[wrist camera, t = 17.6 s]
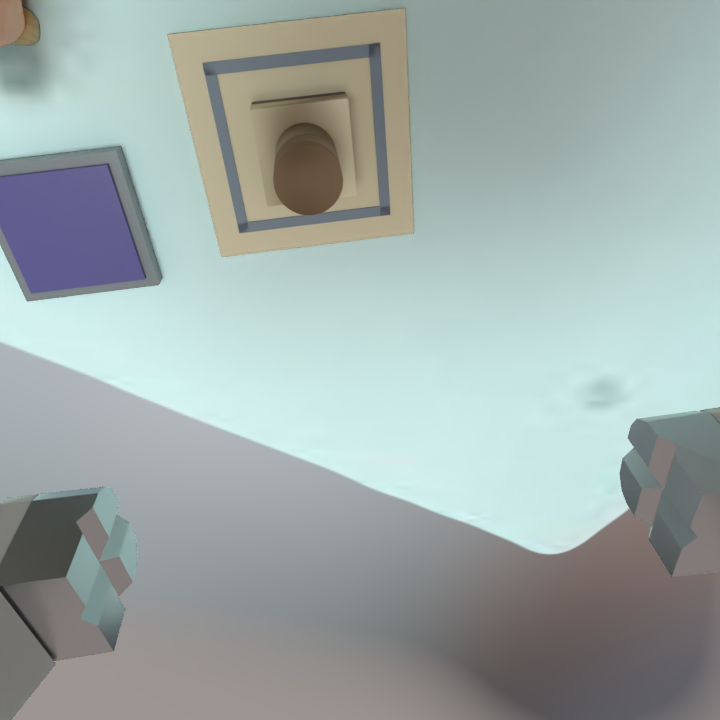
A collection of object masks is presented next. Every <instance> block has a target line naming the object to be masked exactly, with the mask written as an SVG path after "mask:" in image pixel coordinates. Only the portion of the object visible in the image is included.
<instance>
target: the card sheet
mask: <svg viewBox="0 0 720 720" xmlns="http://www.w3.org/2000/svg"><path fill="white" fill-rule="evenodd" d="M168 39H169V43H170V47H171V51H172V55H173V60H174V64H175V68H176V72H177V76H178V80H179V84H180V88H181V92H182V97H183V101H184V105H185V109H186V113H187V117H188V121H189V125H190V130H191V134H192V138H193V142H194V146H195V150H196V154H197V158H198V162H199V167H200V171H201V175H202V179H203V183H204V187H205V191H206V195H207V199H208V204H209V208H210V212H211V216H212V220H213V224H214V228H215V232H216V236H217V241H218V245H219V249H220V253H221V257H227V256H235V255H243V254H251V253H259V252H267V251H275V250H283V249H291V248H299V247H307V246H315V245H323V244H331V243H339V242H347V241H355V240H363V239H371V238H379V237H387V236H395V235H403V234H411V233H414V224H413V197H412V171H411V145H410V119H409V93H408V67H407V41H406V14H405V8H400V9H391V10H382V11H373V12H364V13H355V14H346V15H337V16H328V17H319V18H310V19H301V20H292V21H283V22H274V23H265V24H256V25H247V26H238V27H228V28H219V29H210V30H201V31H192V32H183V33H174V34H168ZM344 91H345V93H346V95H347V97H348V103H349V114H350V124H351V135H352V146H353V157H354V168H355V179H356V190H357V196H351V197H343V198H338V200H337V201H336V203H335V204H334V205H333V206H332V207H331V208H329V209H328V210H326V211H325V212H322V213H320V214H316V215H301V214H298V213H295V212H293V211H291V210H290V209H288V208H287V207H286V206H284V205H276V206H268V207H267V202H266V197H265V192H264V186H263V181H262V175H261V170H260V164H259V159H258V153H257V148H256V142H255V137H254V131H253V126H252V120H251V115H250V107H251V103H252V102H256V101H265V100H273V99H282V98H291V97H300V96H309V95H318V94H327V93H335V92H344Z"/></svg>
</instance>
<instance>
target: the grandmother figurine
mask: <svg viewBox="0 0 720 720" xmlns="http://www.w3.org/2000/svg"><path fill="white" fill-rule="evenodd" d="M39 37H40V27H39V22H38V20H37V18H36V16H35V15H34V14H33V13H32V12H31V11H29V10H28V9H26V8H23V7H22V1H21V0H0V47H2V46H5V45H8V44H17V45H27V46H28V45H33V44H35V43H36V42H37V41H38V40H39Z"/></svg>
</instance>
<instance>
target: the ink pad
mask: <svg viewBox="0 0 720 720" xmlns="http://www.w3.org/2000/svg"><path fill="white" fill-rule="evenodd" d="M0 245H1V247H2V249H3V252H4V254H5V256H6V258H7V260H8V262H9V264H10V266H11V268H12V271H13V273H14V275H15V277H16V279H17V281H18V283H19V285H20V288H21V290H22V292H23V294H24V296H25V298H26V300H27V301H35V300H43V299H51V298H59V297H67V296H75V295H83V294H91V293H99V292H106V291H114V290H122V289H130V288H138V287H146V286H154V285H159V284H160V281H161V279H162V276H161V273H160V270H159V267H158V264H157V261H156V257H155V254H154V251H153V248H152V245H151V241H150V238H149V235H148V232H147V229H146V225H145V222H144V219H143V216H142V213H141V209H140V206H139V203H138V200H137V197H136V193H135V190H134V187H133V184H132V181H131V178H130V174H129V171H128V168H127V165H126V162H125V158H124V155H123V152H122V149H121V146H118V147H110V148H101V149H93V150H84V151H76V152H67V153H58V154H50V155H41V156H33V157H24V158H16V159H7V160H0Z"/></svg>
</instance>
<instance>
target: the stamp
mask: <svg viewBox="0 0 720 720" xmlns="http://www.w3.org/2000/svg"><path fill="white" fill-rule="evenodd" d="M250 115H251V120H252V126H253V131H254V137H255V142H256V148H257V153H258V159H259V164H260V170H261V175H262V181H263V186H264V192H265V197H266V202H267V207H268V206H276V205H284V206H286V207H287V208H288V209H290V210H291V211H293V212H295V213H298V214H301V215H316V214H320V213H322V212H325V211H326V210H328V209H329V208H331V207H332V206H333V205H334V204H335V203H336V201H337V200H338V198H343V197H351V196H357V190H356V179H355V168H354V157H353V146H352V135H351V124H350V114H349V103H348V97H347V95H346V93H345V91H344V92H335V93H327V94H318V95H309V96H300V97H291V98H282V99H273V100H265V101H256V102H252V103H251V107H250Z"/></svg>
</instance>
